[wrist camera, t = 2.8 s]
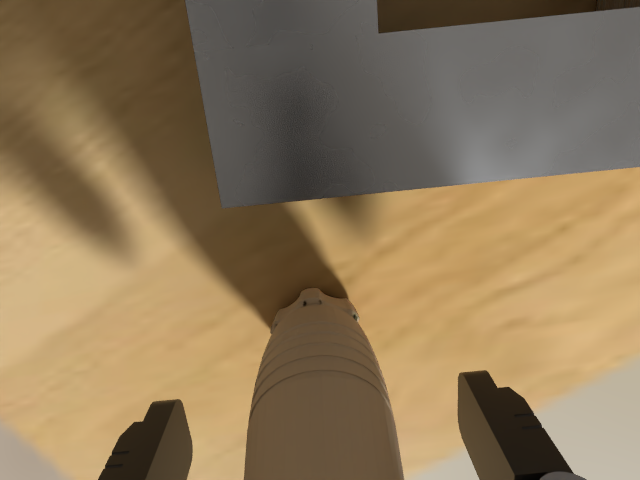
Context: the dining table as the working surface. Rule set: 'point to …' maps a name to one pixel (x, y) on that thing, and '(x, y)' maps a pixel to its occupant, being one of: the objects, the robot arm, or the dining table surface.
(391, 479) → the handle
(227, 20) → the block
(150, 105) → the dining table surface
